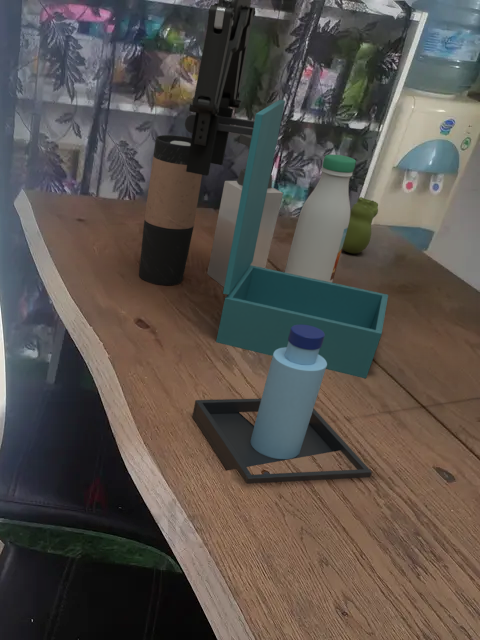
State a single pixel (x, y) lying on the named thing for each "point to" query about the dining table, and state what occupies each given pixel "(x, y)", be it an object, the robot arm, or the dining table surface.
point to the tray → (237, 453)
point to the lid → (250, 183)
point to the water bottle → (290, 394)
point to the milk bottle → (323, 222)
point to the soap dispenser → (228, 223)
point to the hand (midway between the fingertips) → (204, 167)
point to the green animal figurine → (360, 225)
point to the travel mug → (169, 212)
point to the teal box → (304, 317)
